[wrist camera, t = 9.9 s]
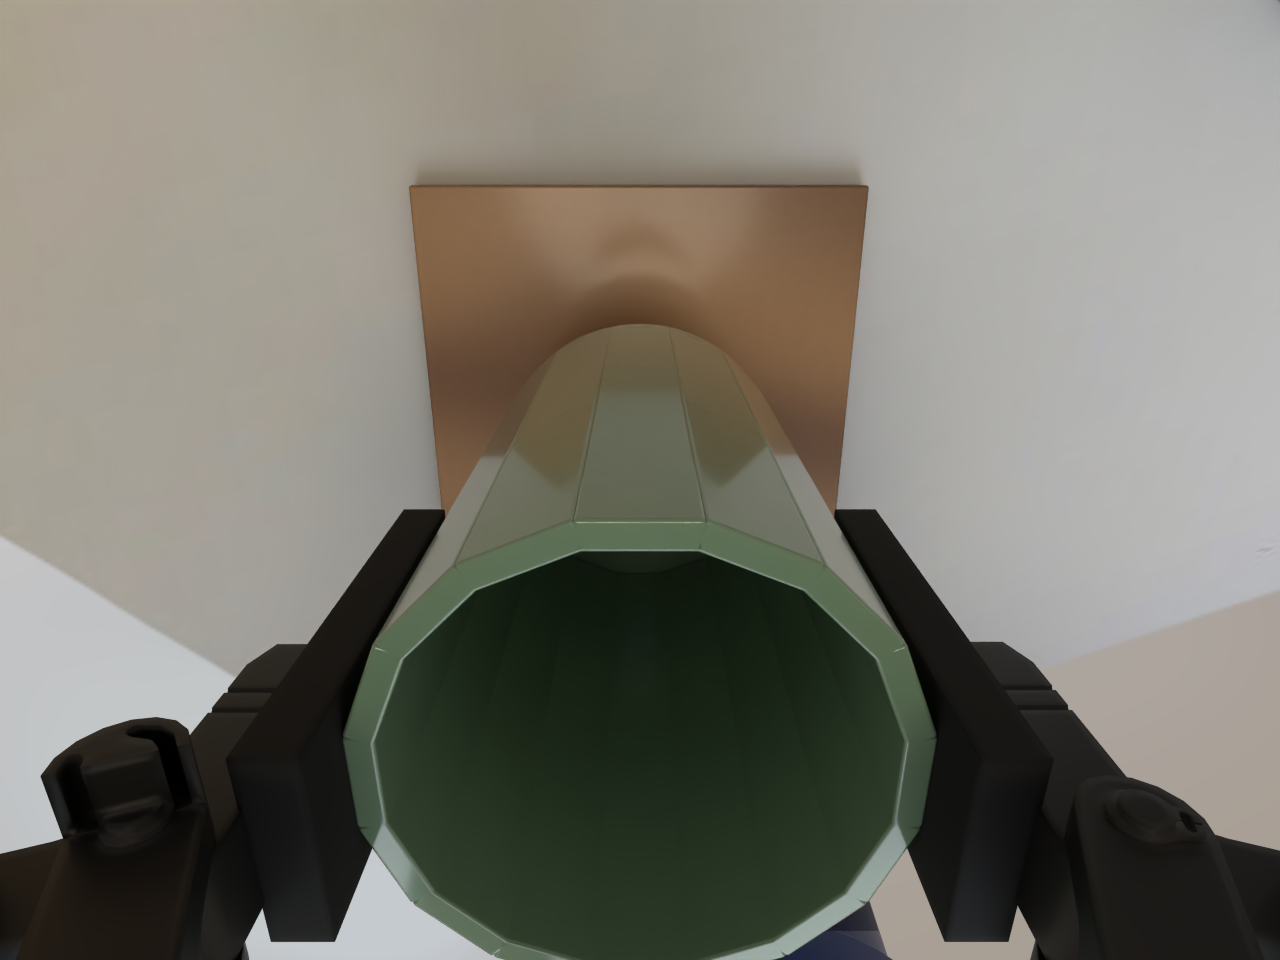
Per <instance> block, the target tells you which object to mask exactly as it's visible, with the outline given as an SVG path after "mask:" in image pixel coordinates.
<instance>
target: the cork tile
mask: <svg viewBox="0 0 1280 960" xmlns="http://www.w3.org/2000/svg"><path fill="white" fill-rule="evenodd" d="M868 189H869V188H868V186H866V185H411V186H410V187H409V192H410V201H411V211H412V221H413V231H414V240H415V250H416V260H417V270H418V279H419V289H420V299H421V309H422V319H423V328H424V338H425V348H426V358H427V367H428V377H429V387H430V397H431V406H432V416H433V426H434V436H435V445H436V455H437V465H438V475H439V485H440V494H441V504H442V509H445V517H446V516H447V515H448V513H449V511H450V509H451V508H452V506H453V504H454V502H455V501H456V499H457V497H458V495H459V494H460V492H461V490H462V489H463V487H464V485H465V483H466V482H467V480H468V478H469V476H470V475H471V473H472V471H473V469H474V468H475V466H476V464H477V463H478V461H479V459H480V457H481V456H482V454H483V452H484V450H485V449H486V447H487V445H488V443H489V442H490V440H491V438H492V437H493V435H494V433H495V431H496V430H497V428H498V426H499V424H500V423H501V421H502V419H503V418H504V416H505V414H506V412H507V411H508V409H509V407H510V405H511V404H512V402H513V400H514V398H515V397H516V395H517V393H518V392H519V390H520V388H521V387H522V386H523V385H524V384H525V383H526V382H527V381H528V380H529V379H530V377H531V376H532V375H533V374H534V373H535V371H536V370H537V369H538V368H539V367H540V365H541V364H543V363H544V362H545V361H546V360H547V359H548V358H549V357H550V356H551V355H553V354H554V353H555V352H556V351H558V350H559V349H561V348H562V347H564V346H565V345H567V344H568V343H570V342H572V341H574V340H576V339H578V338H580V337H582V336H584V335H586V334H589V333H592V332H595V331H598V330H600V329H604V328H609V327H614V326H619V325H628V324H651V325H661V326H666V327H671V328H676V329H679V330H682V331H685V332H688V333H691V334H694V335H696V336H698V337H700V338H702V339H704V340H706V341H708V342H710V343H712V344H713V345H714V346H716V347H717V348H719V349H720V350H722V351H723V352H725V353H726V354H727V355H728V356H729V357H730V358H732V359H733V360H734V361H735V362H736V363H737V364H738V365H739V366H740V367H741V368H742V369H743V371H744V372H745V373H746V374H747V375H748V377H749V378H750V379H751V381H752V382H753V383H754V384H755V385H756V386H757V387H758V388H759V389H760V391H761V392H762V394H763V396H764V397H765V399H766V401H767V403H768V404H769V406H770V408H771V409H772V411H773V413H774V415H775V416H776V418H777V420H778V422H779V423H780V425H781V427H782V429H783V430H784V432H785V434H786V436H787V437H788V439H789V441H790V442H791V444H792V446H793V448H794V449H795V451H796V453H797V455H798V456H799V458H800V460H801V462H802V463H803V465H804V467H805V469H806V470H807V472H808V474H809V475H810V477H811V479H812V481H813V482H814V484H815V486H816V488H817V489H818V491H819V493H820V495H821V496H822V498H823V500H824V502H825V503H826V505H827V507H828V508H829V510H830V512H831V514H832V515H833V517H834V512H835V509H836V504H837V494H838V484H839V475H840V465H841V455H842V445H843V435H844V425H845V415H846V406H847V396H848V386H849V376H850V366H851V356H852V346H853V337H854V327H855V317H856V307H857V297H858V287H859V277H860V268H861V258H862V248H863V238H864V228H865V218H866V208H867V199H868Z"/></svg>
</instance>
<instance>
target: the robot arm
mask: <svg viewBox="0 0 1280 960" xmlns="http://www.w3.org/2000/svg"><path fill="white" fill-rule="evenodd" d="M445 518H446V517H445V509H404V510H403V512H402V513H401V514H400V516H399V517H398V519H397V520H396V521H395V523H394V524H393V526H392V527H391V528H390V530H389V531H388V533H387V534H386V535H385V537H384V538H383V540H382V541H381V542H380V544H379V545H378V547H377V548H376V549H375V551H374V552H373V553H372V555H371V556H370V558H369V559H368V560H367V562H366V563H365V565H364V566H363V567H362V569H361V570H360V572H359V573H358V574H357V576H356V577H355V579H354V580H353V581H352V583H351V584H350V586H349V587H348V588H347V590H346V591H345V593H344V594H343V595H342V597H341V598H340V600H339V601H338V602H337V604H336V605H335V607H334V608H333V609H332V611H331V612H330V614H329V615H328V616H327V618H326V619H325V620H324V622H323V623H322V625H321V626H320V627H319V629H318V630H317V632H316V633H315V634H314V636H313V637H312V639H311V640H310V641H309V643H308V644H277V645H275V646H274V647H273V648H271V649H270V650H268V651H267V652H265V653H264V654H262V655H261V656H259V657H258V658H256V659H255V660H253V661H252V662H250V663H249V664H247V665H246V667H245V668H244V669H243V670H242V672H241V673H240V674H239V675H238V676H237V678H236V679H235V680H234V681H233V683H232V684H231V685H230V686H229V688H228V692H227V693H224V694H223V695H222V696H221V697H220V699H219V700H218V701H217V702H216V704H215V705H214V706H213V707H212V712H211V713H207V715H206V716H205V717H204V718H203V720H202V721H201V722H200V723H199V725H198V726H197V727H196V728H195V729H194V731H193V732H192V733H191V734H190V735H189V731H188V729H187V728H186V727H184V726H183V725H182V724H180V723H179V722H178V721H176V720H171V719H165V718H158V717H153V718H144V719H134V720H129V721H126V722H122V723H119V724H116V725H112V726H109V727H106V728H103V729H101V730H99V731H97V732H95V733H93V734H91V735H88V736H86V737H84V738H82V739H80V740H79V741H76V742H75V743H74V744H72V745H71V746H70V747H68V748H67V749H66V750H64V751H63V752H62V753H60V754H59V755H58V756H56V757H55V758H54V759H53V760H52V762H51V763H50V764H49V766H48V767H47V768H46V770H45V771H44V772H43V773H42V775H41V779H42V782H43V784H44V787H45V790H46V793H47V795H48V798H49V801H50V803H51V806H52V809H53V812H54V815H55V817H56V820H57V823H58V825H59V828H60V831H61V834H62V836H63V839H60V840H57V841H53V842H49V843H45V844H41V845H37V846H32V847H28V848H24V849H19V850H15V851H11V852H7V853H2V854H0V960H249V956H248V951H247V948H246V944H245V941H246V939H247V937H248V935H249V933H250V931H251V929H252V927H253V925H254V923H255V921H256V919H257V917H258V915H259V914H260V912H261V910H262V908H263V912H264V916H265V920H266V924H267V928H268V932H269V936H270V940H271V942H335V940H336V938H337V935H338V933H339V930H340V928H341V925H342V923H343V920H344V918H345V915H346V913H347V910H348V908H349V905H350V903H351V900H352V898H353V895H354V893H355V890H356V888H357V885H358V882H359V880H360V877H361V875H362V873H363V870H364V868H365V865H366V863H367V860H368V858H369V855H370V853H371V850H372V847H371V845H370V844H369V843H368V841H367V840H366V838H365V837H364V836H363V834H362V833H361V832H360V829H359V827H358V825H357V820H356V814H355V808H354V803H353V797H352V791H351V786H350V780H349V775H348V769H347V763H346V758H345V752H344V746H343V741H342V740H343V730H344V727H345V724H346V721H347V718H348V715H349V712H350V709H351V706H352V703H353V700H354V697H355V695H356V692H357V689H358V686H359V683H360V680H361V677H362V674H363V671H364V668H365V665H366V662H367V659H368V656H369V653H370V650H371V647H372V645H373V643H374V641H375V639H376V638H377V636H378V634H379V632H380V631H381V629H382V627H383V625H384V624H385V622H386V620H387V619H388V617H389V615H390V613H391V612H392V610H393V608H394V606H395V605H396V603H397V601H398V599H399V598H400V596H401V594H402V593H403V591H404V589H405V587H406V586H407V584H408V582H409V580H410V579H411V577H412V575H413V573H414V572H415V570H416V568H417V567H418V565H419V563H420V561H421V560H422V558H423V556H424V554H425V553H426V551H427V549H428V547H429V546H430V544H431V542H432V541H433V539H434V537H435V535H436V534H437V532H438V530H439V528H440V527H441V525H442V523H443V521H444V520H445ZM834 519H835V521H836V522H837V524H838V526H839V528H840V529H841V531H842V533H843V535H844V536H845V538H846V540H847V541H848V543H849V545H850V547H851V548H852V550H853V552H854V554H855V555H856V557H857V559H858V561H859V562H860V564H861V566H862V568H863V569H864V571H865V573H866V574H867V576H868V578H869V580H870V581H871V583H872V585H873V587H874V588H875V590H876V592H877V594H878V595H879V597H880V599H881V600H882V602H883V604H884V606H885V607H886V609H887V611H888V613H889V614H890V616H891V618H892V620H893V621H894V623H895V625H896V627H897V628H898V630H899V632H900V633H901V635H902V637H903V639H904V640H905V642H906V644H907V646H908V649H909V652H910V655H911V658H912V661H913V664H914V667H915V670H916V673H917V676H918V679H919V682H920V685H921V687H922V690H923V693H924V696H925V699H926V702H927V705H928V708H929V711H930V714H931V717H932V720H933V723H934V726H935V729H936V732H937V733H936V737H937V743H936V748H935V754H934V760H933V765H932V771H931V777H930V782H929V788H928V794H927V799H926V805H925V811H924V816H923V822H922V826H921V827H920V831H919V832H918V833H917V835H916V836H915V838H914V839H913V840H912V842H911V843H910V845H909V846H908V847H907V849H908V851H909V854H910V856H911V859H912V861H913V864H914V866H915V869H916V871H917V874H918V876H919V879H920V881H921V884H922V886H923V889H924V891H925V894H926V896H927V899H928V901H929V904H930V906H931V909H932V911H933V914H934V916H935V919H936V921H937V924H938V926H939V929H940V931H941V934H942V936H943V939H944V941H945V942H1008V941H1009V937H1010V933H1011V929H1012V925H1013V921H1014V917H1015V913H1016V909H1017V905H1018V907H1019V909H1020V911H1021V913H1022V915H1023V916H1024V918H1025V920H1026V922H1027V924H1028V926H1029V928H1030V930H1031V932H1032V934H1033V936H1034V938H1035V944H1034V948H1033V951H1032V955H1031V959H1030V960H1280V851H1279V850H1275V849H1270V848H1266V847H1262V846H1257V845H1253V844H1249V843H1244V842H1240V841H1236V840H1232V839H1227V838H1224V837H1221V836H1218V835H1215V834H1214V833H1213V831H1212V830H1211V828H1210V827H1209V825H1208V823H1207V822H1206V820H1205V819H1204V818H1203V817H1202V816H1201V815H1199V814H1198V813H1197V812H1196V811H1195V810H1194V809H1192V808H1191V807H1190V806H1189V805H1188V804H1186V803H1185V802H1184V801H1183V800H1181V799H1179V798H1177V797H1175V796H1174V795H1172V794H1170V793H1168V792H1166V791H1165V790H1163V789H1161V788H1159V787H1157V786H1154V785H1151V784H1148V783H1145V782H1142V781H1139V780H1136V779H1133V778H1128V777H1126V776H1125V774H1124V773H1123V772H1122V771H1121V770H1120V768H1119V767H1118V766H1117V765H1116V763H1115V762H1114V761H1113V760H1112V759H1111V757H1110V756H1109V755H1108V754H1107V752H1106V751H1105V750H1104V749H1103V747H1102V746H1101V745H1100V744H1099V743H1098V741H1097V740H1096V739H1095V738H1094V736H1093V735H1092V734H1091V733H1090V732H1089V730H1088V729H1087V728H1086V727H1085V725H1084V724H1083V723H1082V722H1081V721H1080V719H1079V718H1078V717H1077V716H1076V714H1075V713H1074V712H1073V711H1072V710H1068V705H1067V703H1066V702H1065V701H1064V700H1063V698H1062V697H1061V696H1060V695H1059V694H1058V692H1057V691H1056V690H1052V685H1051V684H1050V683H1049V681H1048V680H1047V679H1046V678H1045V676H1044V675H1043V674H1042V673H1041V671H1040V670H1039V669H1038V668H1037V667H1036V665H1035V664H1034V663H1033V662H1032V661H1030V660H1029V659H1027V658H1026V657H1024V656H1023V655H1021V654H1020V653H1018V652H1017V651H1015V650H1014V649H1013V648H1011V647H1010V646H1008V645H1007V644H1005V643H1004V642H970V641H969V639H968V638H967V637H966V635H965V634H964V632H963V631H962V630H961V628H960V627H959V625H958V624H957V623H956V621H955V620H954V618H953V617H952V616H951V614H950V613H949V611H948V610H947V609H946V607H945V606H944V604H943V603H942V602H941V600H940V599H939V597H938V596H937V595H936V593H935V592H934V591H933V589H932V588H931V586H930V585H929V584H928V582H927V581H926V579H925V578H924V577H923V575H922V574H921V572H920V571H919V570H918V568H917V567H916V565H915V564H914V563H913V561H912V560H911V558H910V557H909V556H908V554H907V553H906V551H905V550H904V549H903V547H902V546H901V544H900V543H899V542H898V540H897V539H896V537H895V536H894V535H893V533H892V532H891V530H890V529H889V528H888V526H887V525H886V523H885V522H884V521H883V519H882V518H881V517H880V515H879V514H878V512H877V511H876V510H875V509H835V512H834Z"/></svg>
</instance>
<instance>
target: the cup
mask: <svg viewBox="0 0 1280 960" xmlns="http://www.w3.org/2000/svg"><path fill="white" fill-rule="evenodd" d="M936 733H937V732H936V729H935V726H934V723H933V720H932V717H931V714H930V711H929V708H928V705H927V702H926V699H925V696H924V693H923V690H922V687H921V685H920V682H919V679H918V676H917V673H916V670H915V667H914V664H913V661H912V658H911V655H910V652H909V649H908V646H907V644H906V642H905V640H904V639H903V637H902V635H901V633H900V632H899V630H898V628H897V627H896V625H895V623H894V621H893V620H892V618H891V616H890V614H889V613H888V611H887V609H886V607H885V606H884V604H883V602H882V600H881V599H880V597H879V595H878V594H877V592H876V590H875V588H874V587H873V585H872V583H871V581H870V580H869V578H868V576H867V574H866V573H865V571H864V569H863V568H862V566H861V564H860V562H859V561H858V559H857V557H856V555H855V554H854V552H853V550H852V548H851V547H850V545H849V543H848V541H847V540H846V538H845V536H844V535H843V533H842V531H841V529H840V528H839V526H838V524H837V522H836V521H835V519H834V517H833V515H832V514H831V512H830V510H829V508H828V507H827V505H826V503H825V502H824V500H823V498H822V496H821V495H820V493H819V491H818V489H817V488H816V486H815V484H814V482H813V481H812V479H811V477H810V475H809V474H808V472H807V470H806V469H805V467H804V465H803V463H802V462H801V460H800V458H799V456H798V455H797V453H796V451H795V449H794V448H793V446H792V444H791V442H790V441H789V439H788V437H787V436H786V434H785V432H784V430H783V429H782V427H781V425H780V423H779V422H778V420H777V418H776V416H775V415H774V413H773V411H772V409H771V408H770V406H769V404H768V403H767V401H766V399H765V397H764V396H763V394H762V392H761V391H760V389H759V388H758V387H757V386H756V385H755V384H754V383H753V382H752V381H751V379H750V378H749V377H748V375H747V374H746V373H745V372H744V371H743V369H742V368H741V367H740V366H739V365H738V364H737V363H736V362H735V361H734V360H733V359H732V358H730V357H729V356H728V355H727V354H726V353H725V352H723V351H722V350H720V349H719V348H717V347H716V346H714V345H713V344H712V343H710V342H708V341H706V340H704V339H702V338H700V337H698V336H696V335H694V334H691V333H688V332H685V331H682V330H679V329H676V328H671V327H666V326H661V325H651V324H628V325H619V326H614V327H609V328H604V329H600V330H598V331H595V332H592V333H589V334H586V335H584V336H582V337H580V338H578V339H576V340H574V341H572V342H570V343H568V344H567V345H565V346H564V347H562V348H561V349H559V350H558V351H556V352H555V353H554V354H553V355H551V356H550V357H549V358H548V359H547V360H546V361H545V362H544V363H543V364H541V365H540V367H539V368H538V369H537V370H536V371H535V373H534V374H533V375H532V376H531V377H530V379H529V380H528V381H527V382H526V383H525V384H524V385H523V386H522V387H521V388H520V390H519V392H518V393H517V395H516V397H515V398H514V400H513V402H512V404H511V405H510V407H509V409H508V411H507V412H506V414H505V416H504V418H503V419H502V421H501V423H500V424H499V426H498V428H497V430H496V431H495V433H494V435H493V437H492V438H491V440H490V442H489V443H488V445H487V447H486V449H485V450H484V452H483V454H482V456H481V457H480V459H479V461H478V463H477V464H476V466H475V468H474V469H473V471H472V473H471V475H470V476H469V478H468V480H467V482H466V483H465V485H464V487H463V489H462V490H461V492H460V494H459V495H458V497H457V499H456V501H455V502H454V504H453V506H452V508H451V509H450V511H449V513H448V515H447V516H446V518H445V520H444V521H443V523H442V525H441V527H440V528H439V530H438V532H437V534H436V535H435V537H434V539H433V541H432V542H431V544H430V546H429V547H428V549H427V551H426V553H425V554H424V556H423V558H422V560H421V561H420V563H419V565H418V567H417V568H416V570H415V572H414V573H413V575H412V577H411V579H410V580H409V582H408V584H407V586H406V587H405V589H404V591H403V593H402V594H401V596H400V598H399V599H398V601H397V603H396V605H395V606H394V608H393V610H392V612H391V613H390V615H389V617H388V619H387V620H386V622H385V624H384V625H383V627H382V629H381V631H380V632H379V634H378V636H377V638H376V639H375V641H374V643H373V645H372V647H371V650H370V653H369V656H368V659H367V662H366V665H365V668H364V671H363V674H362V677H361V680H360V683H359V686H358V689H357V692H356V695H355V697H354V700H353V703H352V706H351V709H350V712H349V715H348V718H347V721H346V724H345V727H344V730H343V740H342V741H343V746H344V752H345V758H346V763H347V769H348V775H349V780H350V786H351V791H352V797H353V803H354V808H355V814H356V820H357V825H358V827H359V829H360V832H361V833H362V834H363V836H364V837H365V838H366V840H367V841H368V843H369V844H370V845H371V847H372V848H373V850H374V851H375V852H376V854H377V855H378V857H379V858H380V859H381V861H382V862H383V863H384V865H385V866H386V868H387V869H388V870H389V872H390V873H391V875H392V876H393V877H394V879H395V880H396V882H397V883H398V884H399V886H400V887H401V888H402V890H403V891H404V893H405V894H406V895H407V897H408V898H409V900H410V901H411V902H414V904H415V905H416V906H417V907H419V908H420V909H422V910H423V911H425V912H426V913H428V914H429V915H431V916H432V917H434V918H435V919H437V920H438V921H440V922H441V923H443V924H444V925H446V926H448V927H449V928H451V929H452V930H454V931H455V932H457V933H458V934H460V935H461V936H463V937H464V938H466V939H467V940H469V941H470V942H472V943H474V944H475V945H477V946H478V947H480V948H481V949H483V950H484V951H486V952H487V953H489V954H490V955H494V956H495V957H497V958H501V959H504V960H775V959H779V958H782V957H784V956H785V955H789V954H791V953H792V952H794V951H795V950H797V949H798V948H800V947H801V946H803V945H804V944H806V943H808V942H809V941H811V940H812V939H814V938H815V937H817V936H818V935H820V934H821V933H823V932H824V931H826V930H827V929H829V928H830V927H832V926H833V925H835V924H836V923H838V922H840V921H841V920H843V919H844V918H846V917H847V916H849V915H850V914H852V913H853V912H855V911H856V910H858V909H859V908H861V907H862V906H864V905H865V904H866V902H868V901H869V900H870V899H871V897H872V896H873V895H874V893H875V892H876V890H877V889H878V888H879V886H880V885H881V883H882V882H883V881H884V879H885V878H886V877H887V875H888V874H889V872H890V871H891V870H892V868H893V867H894V865H895V864H896V863H897V861H898V860H899V858H900V857H901V856H902V854H903V853H904V852H905V850H906V849H907V847H908V846H909V845H910V843H911V842H912V840H913V839H914V838H915V836H916V835H917V833H918V832H919V831H920V827H921V826H922V822H923V816H924V811H925V805H926V799H927V794H928V788H929V782H930V777H931V771H932V765H933V760H934V754H935V748H936V743H937V737H936Z"/></svg>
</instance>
